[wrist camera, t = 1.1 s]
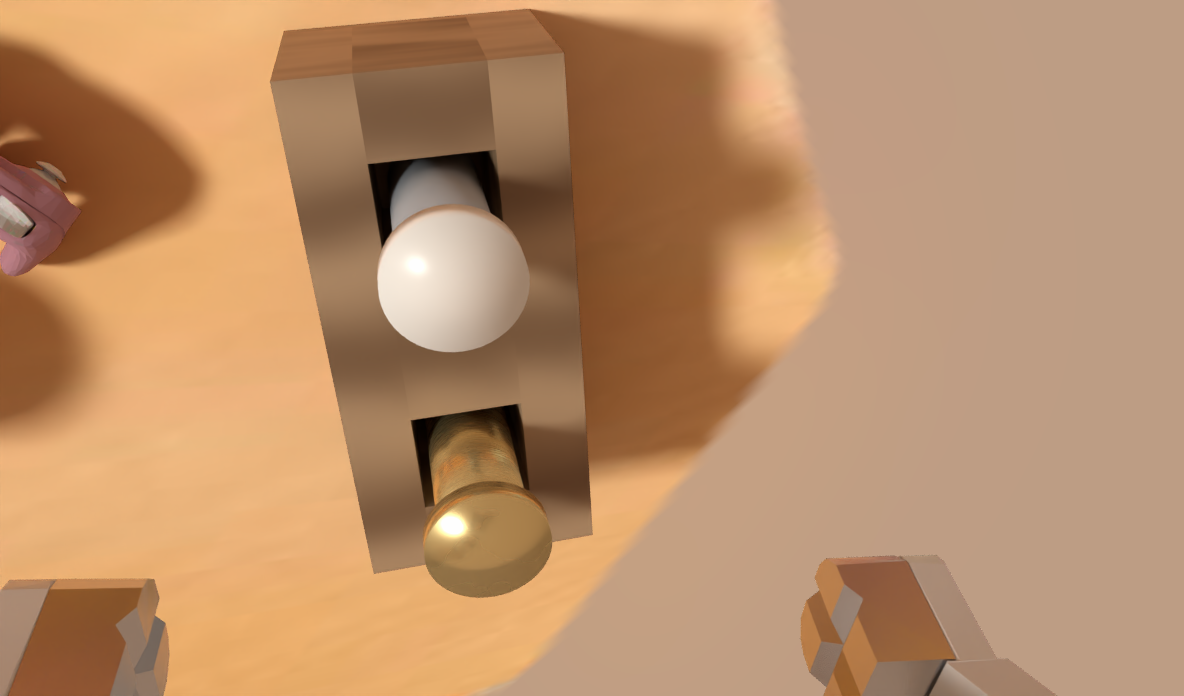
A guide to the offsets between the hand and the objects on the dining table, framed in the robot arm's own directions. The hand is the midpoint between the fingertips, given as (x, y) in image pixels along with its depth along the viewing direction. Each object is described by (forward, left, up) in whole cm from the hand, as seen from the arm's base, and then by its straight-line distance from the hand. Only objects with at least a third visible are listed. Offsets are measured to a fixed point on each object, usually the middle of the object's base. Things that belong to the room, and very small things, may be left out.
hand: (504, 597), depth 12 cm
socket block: (-11, -1, -33) cm, 35 cm away
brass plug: (-16, -1, -29) cm, 33 cm away
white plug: (-5, -1, -29) cm, 30 cm away
